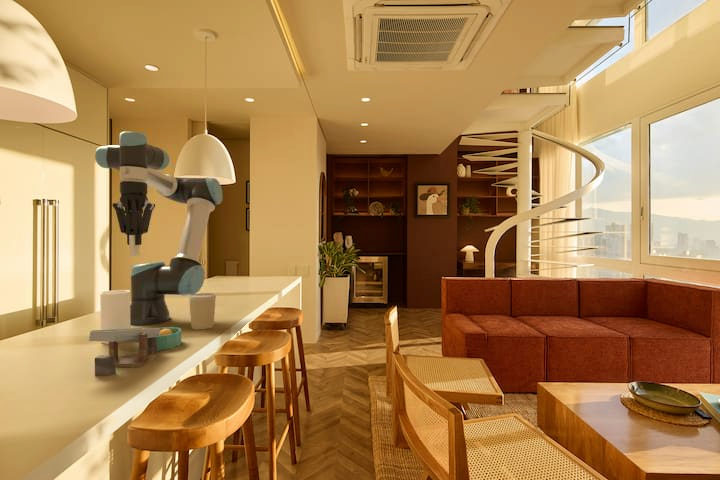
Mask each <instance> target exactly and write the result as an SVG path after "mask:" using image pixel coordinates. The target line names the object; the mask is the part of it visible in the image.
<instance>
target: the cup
mask: <svg viewBox="0 0 720 480" xmlns="http://www.w3.org/2000/svg"><path fill="white" fill-rule="evenodd" d="M99 294H100V296H99V297H100V299H99V300H100V302H99V305H100V330H106V329H125V328H131V324H130V305H131V290H129V289H114V290H113V289H112V290H105V291H101V292H100V293H99ZM100 343H101V344H107V345H109V342H105V341H100ZM119 343H121V342H118V344H119Z"/></svg>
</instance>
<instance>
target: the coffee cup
mask: <svg viewBox="0 0 720 480" xmlns="http://www.w3.org/2000/svg"><path fill="white" fill-rule="evenodd" d="M216 298H217V296H216V294H215V293H210V292H202V293H201V292H200V293H196V294H193V295H189V297H188V300H189V311H190V312H189V313H190V324H191V325H190V326H191V329H192V330H207V328H208V329H211V328H213V327H214V326H215V324H214V323H215V313H216V312H215V311H216Z"/></svg>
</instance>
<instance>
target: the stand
mask: <svg viewBox="0 0 720 480" xmlns="http://www.w3.org/2000/svg"><path fill="white" fill-rule="evenodd" d="M156 352H157V350H156V337H153V338H147V333H141V334H139V343H138V354H124V353H123V354H120V353H119V343H118V342H115V341H114V342H109V344H108V355H107V354H104V355H102V354H100V355H98V356H96V357H94V375H95V376H104V377H105V376H106V377H109V376H112V375H114V374H116V373H117V371H116V370H117V369H116V367H120V368H141V367H143V366H144V365H146V364H148V363H150V362H151V361H153V360H155V359H156V355H152V354H154V353H156ZM148 354H151V355H148Z"/></svg>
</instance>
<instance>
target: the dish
mask: <svg viewBox="0 0 720 480" xmlns="http://www.w3.org/2000/svg"><path fill="white" fill-rule="evenodd" d="M159 328H160V331H161V330H163V329H170V330H171V331H172V334H169V335H162V336H158V335H159V334H158V335H157V337H156V351H164V350H169V349H168V348H170V349H173V348H176V346H177V347H178V346H180V345H182V328H181V327H178V326H177V327H176V326H175V327H174V326H165V327H159ZM172 347H173V348H172ZM163 349H164V350H163Z"/></svg>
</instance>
